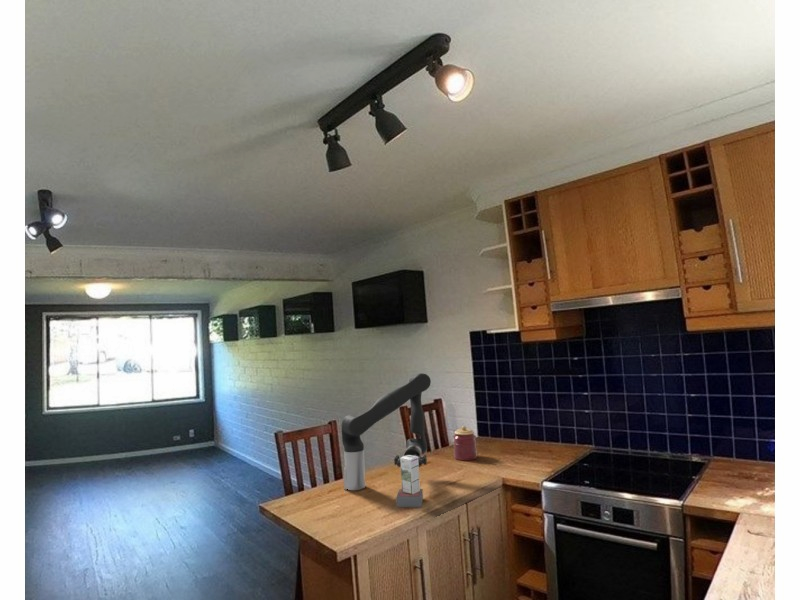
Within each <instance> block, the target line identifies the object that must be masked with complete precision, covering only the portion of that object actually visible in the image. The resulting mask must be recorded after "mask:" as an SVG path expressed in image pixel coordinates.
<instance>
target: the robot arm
mask: <svg viewBox="0 0 800 600" xmlns="http://www.w3.org/2000/svg"><path fill="white" fill-rule="evenodd" d="M431 383H432V381H431V377H430V376H429V375H428V374H427V373H422V372H421V373H417V374H413V375H412V376H411V377H410V378H409V380H408V382H406V384H404V385H401V386H400V387H397V388H394V389H393V390H390V391H389V392H387V393H385V394H384V395H383V394H382V396H380V397H379V398H378V399H377V400H376V401H375V402H374V404H373V405H372V406H371V407H370V408H369V409H368V410H367V411H365V412H364V413H361V414H359V415H354V414H348V415H346V416H344V418H343V420H342V422H341V442H342V446H343V450H344V455H343V456H344V468H343V488H344V490H347V489H348V491H360V490H363V489H365V487H366V477H365V476H366V473H365V472H366V471H365V470H366V469H365V446H364V442H363V441H362V440H361V435H363V434H364V433H365V432H367V431H368V430H369V429H370V428H372V427H373V425H375V424H376V423H378V422H380V421H381V420H382V419H384V418H386V417H387V416H389V415H390V414H392V413H394V412H395V411H396V410H398V409H399V408H400V407H402V406H403V405H405V404H406V403H407V402H408V401H409V402H410V403H409V404H410V423H409V424H410V430H409V431H410V433H412V434H415V435H418V436H419V438H414V437H413V438H408V439H407V441H406V443H405V448H406V449H405V451H404V454H403V456H406V455H411V456H418V463H419V468H420V467H421V466H422V465H424V466H425V465H427V463H428V461H427V459H428V458H427V455H425V453H426V452H427V450H428V443H427V439H426V433H425V413H424V409H423V406H422V405H423V404H422V393H423V392H425V391H427V390H428V389H429V388H430V386H431ZM423 454H424V455H423ZM422 455H423V456H422ZM403 456H401V457H403ZM401 457H400V455H396V456H395V457H394V459H393V460H394V461H393V463H394V465H395V466H397V467H398V468H401V462H400V458H401Z"/></svg>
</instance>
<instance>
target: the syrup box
mask: <svg viewBox="0 0 800 600" xmlns="http://www.w3.org/2000/svg"><path fill="white" fill-rule="evenodd" d="M400 462H401V466H400V474H401V479H400V480H401V489H402V492H403V493H408V494H415V493H417V492H419V491H420V489H421V484H420V482H421V481H420V467H419V463H418V456H411V455H406V456H404V455H403V457H402V456H401V458H400Z"/></svg>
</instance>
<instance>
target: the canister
mask: <svg viewBox="0 0 800 600" xmlns="http://www.w3.org/2000/svg"><path fill="white" fill-rule="evenodd" d="M474 433H475V430H474V431H473V430H472V428H467V427H466V425H462V426H461V428H458V429H456V430H455V431H454V435H452V438H453V442H452V443H453V457H454V459H455V460H458V461H472V460H473V461H474V460H475V459H477V457H478V454H477V453H478V452H477V441H476V437H477V435H476V434H474Z"/></svg>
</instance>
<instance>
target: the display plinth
mask: <svg viewBox="0 0 800 600" xmlns="http://www.w3.org/2000/svg"><path fill="white" fill-rule="evenodd" d="M423 491H424V490H423V488H420V491H419V492H417V493H415V494H408V493H403V492H402V488H399V489H398V492H397V495H396V508H422V506H423V500H424V492H423Z"/></svg>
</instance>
